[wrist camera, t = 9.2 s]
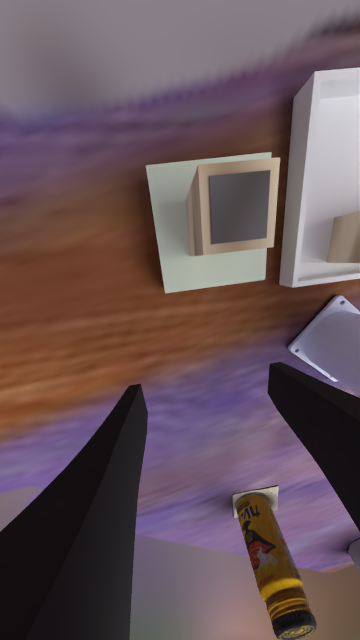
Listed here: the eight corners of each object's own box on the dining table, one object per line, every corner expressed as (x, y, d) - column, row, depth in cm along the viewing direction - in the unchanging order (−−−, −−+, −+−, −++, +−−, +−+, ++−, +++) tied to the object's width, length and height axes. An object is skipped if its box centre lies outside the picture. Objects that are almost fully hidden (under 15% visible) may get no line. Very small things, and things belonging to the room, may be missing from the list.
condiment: (231, 494, 30) (271, 631, 19) (278, 484, 31) (343, 615, 19) (233, 516, 33) (269, 649, 22) (276, 507, 33) (333, 634, 22)
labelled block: (238, 194, 13) (281, 156, 8) (237, 251, 14) (274, 247, 10) (185, 199, 13) (198, 163, 8) (190, 256, 14) (203, 255, 9)
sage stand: (254, 169, 15) (271, 152, 12) (251, 276, 18) (265, 279, 15) (148, 180, 14) (145, 165, 12) (165, 288, 17) (165, 293, 15)
